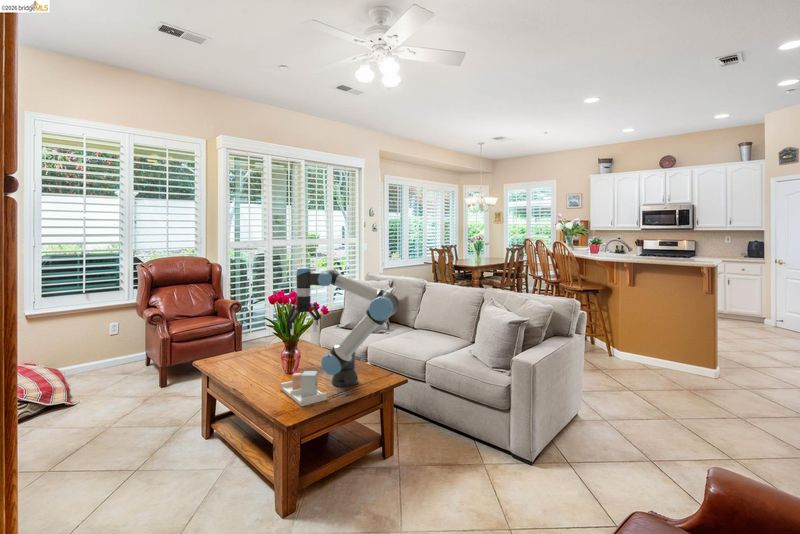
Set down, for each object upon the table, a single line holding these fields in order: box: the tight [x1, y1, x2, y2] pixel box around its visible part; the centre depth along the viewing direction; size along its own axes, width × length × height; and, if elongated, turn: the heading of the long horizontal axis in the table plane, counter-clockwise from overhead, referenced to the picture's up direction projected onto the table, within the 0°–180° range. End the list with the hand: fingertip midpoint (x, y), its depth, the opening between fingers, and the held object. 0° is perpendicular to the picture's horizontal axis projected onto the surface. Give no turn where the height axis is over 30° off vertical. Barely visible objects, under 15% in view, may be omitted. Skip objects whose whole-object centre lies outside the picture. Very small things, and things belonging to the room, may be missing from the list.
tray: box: [280, 372, 328, 407], centre depth 213 cm, size 14×27×9 cm, turn 39°
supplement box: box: [301, 370, 318, 399], centre depth 207 cm, size 7×7×13 cm
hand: (303, 333), depth 222 cm, fingers open, 13 cm apart
